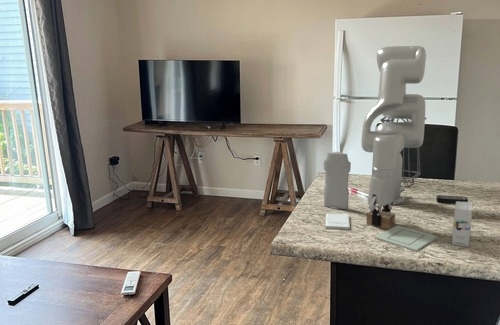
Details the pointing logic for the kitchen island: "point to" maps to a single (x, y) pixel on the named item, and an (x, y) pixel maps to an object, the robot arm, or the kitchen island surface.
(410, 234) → the mat
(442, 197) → the multiport hub
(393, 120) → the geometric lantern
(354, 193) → the kitchen island surface
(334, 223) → the external hard drive
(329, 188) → the tall pale column
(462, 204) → the ink box
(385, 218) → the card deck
